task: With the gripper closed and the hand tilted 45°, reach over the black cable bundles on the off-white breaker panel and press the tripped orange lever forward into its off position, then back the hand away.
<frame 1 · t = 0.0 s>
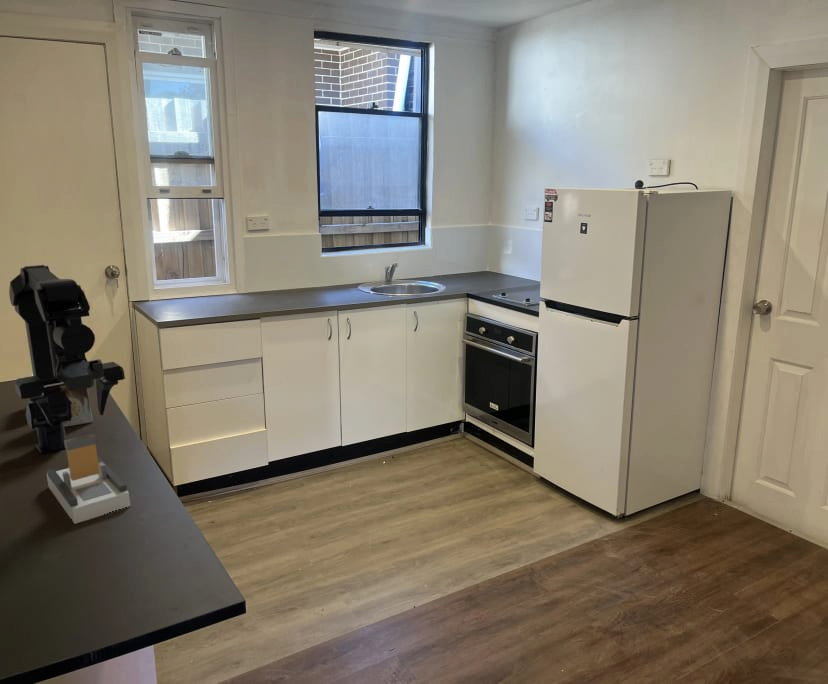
hand: (77, 420, 133), 15 cm above the table, tool pointing down, fingers open, 9 cm apart
coffee box: (73, 422, 173), on the table
lever: (82, 457, 130), point 9 cm above the table, hinge at 0.0°
breaker panel: (88, 496, 132), on the table
cable organizer: (58, 408, 184), on the table
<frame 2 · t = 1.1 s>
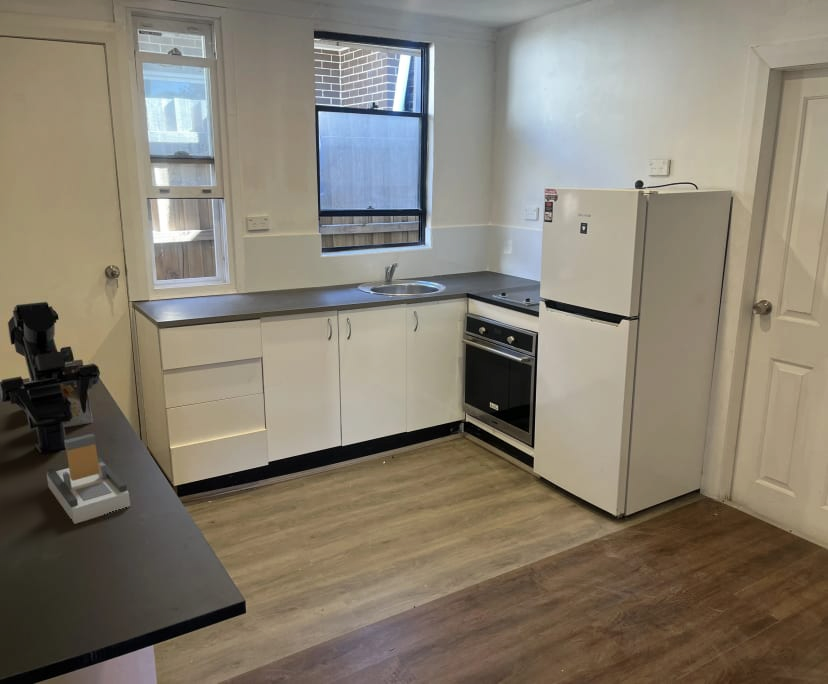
hand: (61, 417, 140), 13 cm above the table, tool tilted 40°, fingers open, 9 cm apart
coffee box: (73, 423, 173), on the table, touching arm
everything else where it was.
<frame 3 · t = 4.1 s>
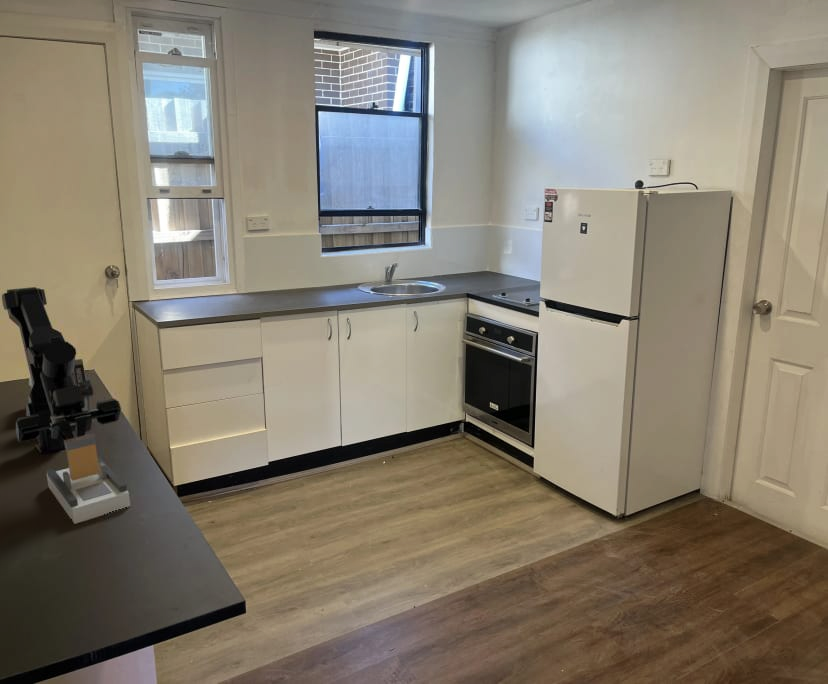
hand: (80, 456, 131), 8 cm above the table, tool tilted 45°, fingers closed, pressing on lever
coffee box: (73, 422, 173), on the table
lever: (82, 457, 130), point 8 cm above the table, hinge at 0.0°, touching gripper
everything else where it was.
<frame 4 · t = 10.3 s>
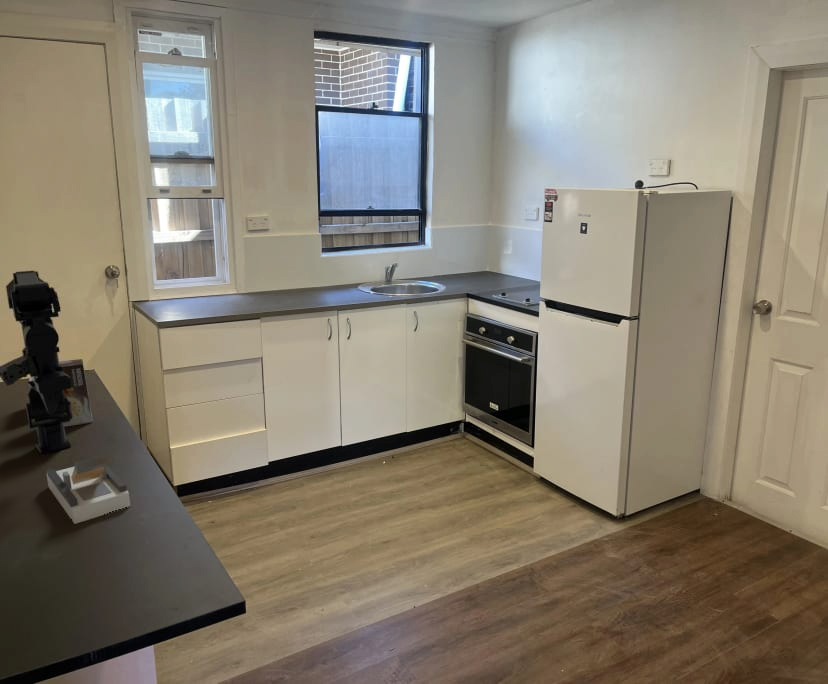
hand: (51, 413, 142), 13 cm above the table, tool pointing down, fingers closed
lever: (88, 470, 128), point 7 cm above the table, hinge at 50.1°
everything else where it was.
at the end: lever at +50° (first picture: +0°) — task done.
